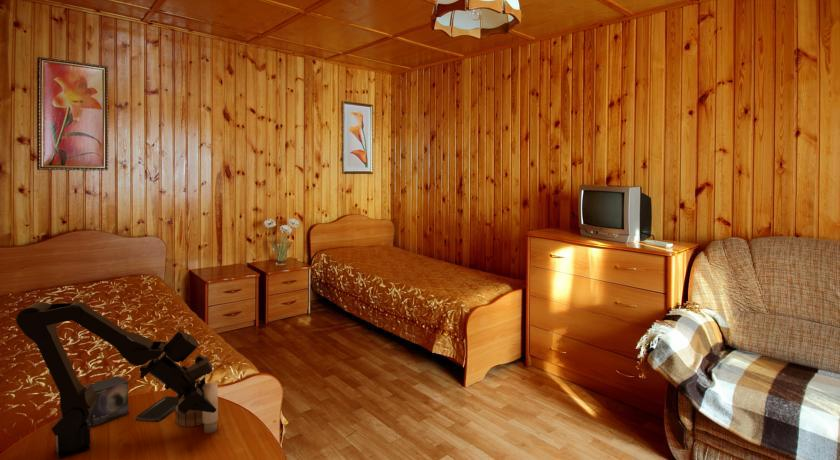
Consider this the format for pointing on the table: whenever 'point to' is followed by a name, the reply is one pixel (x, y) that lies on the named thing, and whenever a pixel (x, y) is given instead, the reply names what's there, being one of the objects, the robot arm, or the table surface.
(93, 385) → the small box
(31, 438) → the table surface
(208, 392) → the tapered rounded pillar
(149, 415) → the phone
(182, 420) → the segmented block ring
